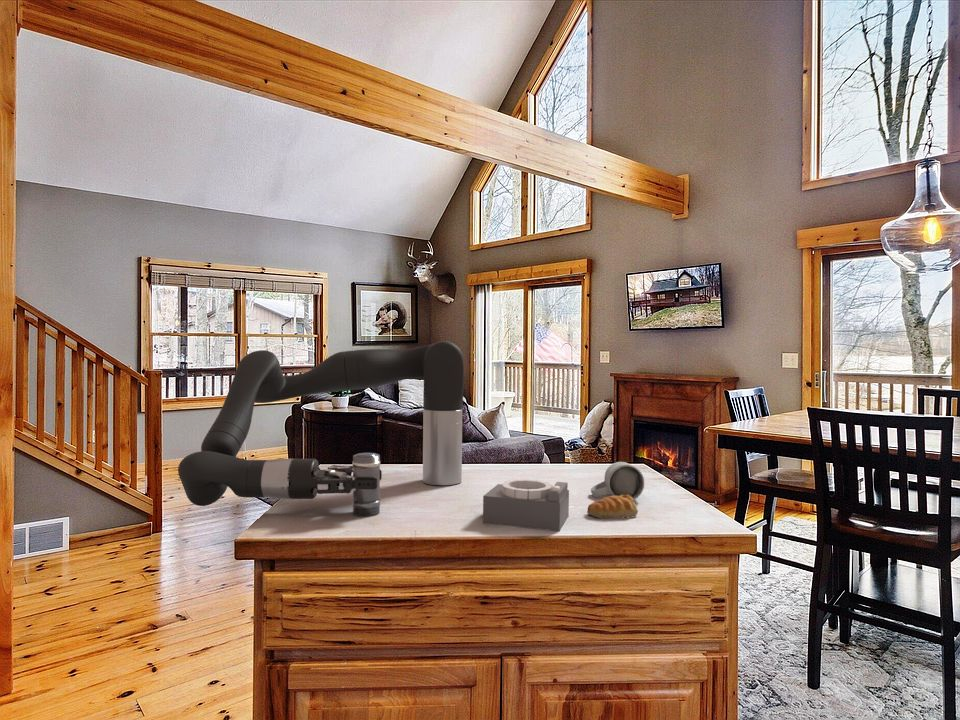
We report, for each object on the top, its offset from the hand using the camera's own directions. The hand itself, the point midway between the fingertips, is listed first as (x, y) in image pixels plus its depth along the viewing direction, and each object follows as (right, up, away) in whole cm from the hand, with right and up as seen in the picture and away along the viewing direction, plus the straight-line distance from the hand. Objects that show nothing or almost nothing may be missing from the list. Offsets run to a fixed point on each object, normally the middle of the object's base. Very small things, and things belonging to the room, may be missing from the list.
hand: (379, 478), depth 115 cm
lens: (-2, -6, 0) cm, 7 cm away
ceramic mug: (+49, -7, +15) cm, 52 cm away
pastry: (+45, -8, +1) cm, 46 cm away
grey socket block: (+28, -7, -3) cm, 29 cm away
